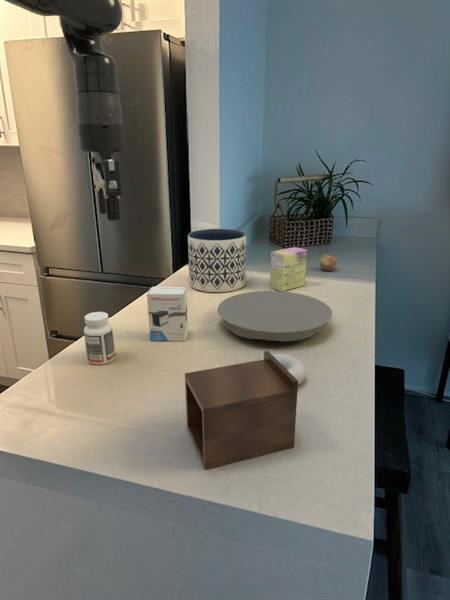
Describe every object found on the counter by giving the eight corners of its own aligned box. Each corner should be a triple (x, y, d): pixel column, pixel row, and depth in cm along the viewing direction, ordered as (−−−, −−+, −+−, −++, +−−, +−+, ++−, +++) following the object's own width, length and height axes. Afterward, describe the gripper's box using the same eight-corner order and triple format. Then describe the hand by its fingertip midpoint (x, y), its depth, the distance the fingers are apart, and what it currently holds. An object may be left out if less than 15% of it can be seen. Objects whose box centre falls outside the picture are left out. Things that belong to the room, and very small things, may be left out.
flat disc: (235, 301, 124) (235, 286, 123) (335, 312, 116) (336, 296, 115) (201, 341, 99) (200, 323, 98) (324, 358, 91) (326, 339, 90)
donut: (244, 381, 83) (289, 397, 77) (243, 365, 82) (290, 380, 76) (271, 361, 90) (314, 375, 84) (271, 346, 89) (315, 359, 83)
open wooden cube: (205, 469, 60) (203, 399, 56) (186, 428, 69) (184, 365, 65) (294, 447, 65) (298, 380, 61) (266, 410, 73) (268, 350, 70)
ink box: (149, 341, 99) (146, 293, 95) (153, 332, 104) (150, 286, 100) (186, 341, 99) (184, 293, 95) (188, 332, 104) (187, 286, 100)
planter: (241, 294, 130) (242, 241, 124) (183, 292, 132) (181, 239, 127) (248, 277, 146) (249, 229, 141) (196, 275, 149) (194, 228, 144)
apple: (317, 272, 152) (318, 256, 149) (320, 267, 159) (321, 251, 157) (334, 274, 150) (335, 257, 148) (337, 268, 157) (338, 252, 155)
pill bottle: (109, 350, 95) (104, 308, 92) (119, 360, 91) (115, 316, 87) (83, 357, 92) (78, 314, 88) (93, 368, 88) (87, 323, 84)
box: (292, 281, 142) (294, 246, 138) (305, 285, 138) (307, 249, 134) (269, 287, 136) (270, 251, 132) (282, 292, 132) (283, 254, 128)
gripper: (73, 124, 79) (83, 212, 85) (83, 120, 67) (94, 224, 72) (114, 124, 82) (121, 210, 88) (131, 121, 70) (138, 221, 75)
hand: (109, 216), depth 80 cm, fingers open, 8 cm apart
